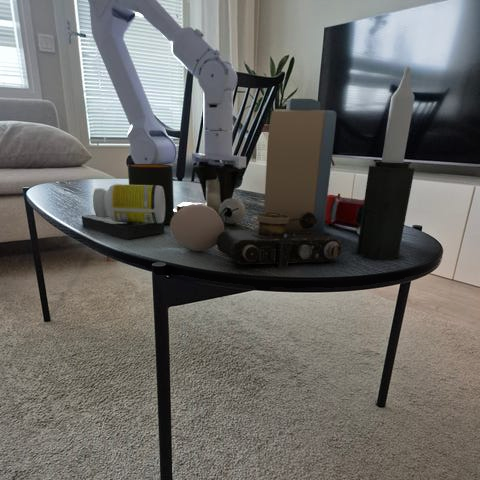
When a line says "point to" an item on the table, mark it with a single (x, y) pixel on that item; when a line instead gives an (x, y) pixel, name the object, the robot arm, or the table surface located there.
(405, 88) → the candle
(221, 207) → the reed diffuser
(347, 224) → the toy car
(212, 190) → the pointer wheel
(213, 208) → the dial console
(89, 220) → the vhs tape
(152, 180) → the mug
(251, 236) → the camera
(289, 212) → the tall beige block
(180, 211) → the egg
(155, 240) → the table surface
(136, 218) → the pill bottle
